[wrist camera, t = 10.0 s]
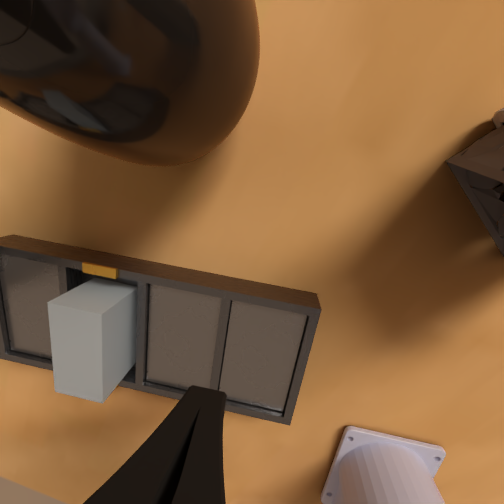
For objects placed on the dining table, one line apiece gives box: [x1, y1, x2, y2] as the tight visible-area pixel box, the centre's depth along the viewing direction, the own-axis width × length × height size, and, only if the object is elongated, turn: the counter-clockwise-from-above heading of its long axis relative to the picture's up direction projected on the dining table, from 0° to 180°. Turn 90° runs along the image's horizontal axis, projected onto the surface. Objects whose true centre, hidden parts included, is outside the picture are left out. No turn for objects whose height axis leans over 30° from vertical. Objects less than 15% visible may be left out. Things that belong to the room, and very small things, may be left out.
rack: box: [0, 235, 321, 425], centre depth 19 cm, size 10×24×2 cm, turn 80°
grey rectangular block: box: [47, 278, 138, 403], centre depth 18 cm, size 7×4×4 cm, turn 169°
